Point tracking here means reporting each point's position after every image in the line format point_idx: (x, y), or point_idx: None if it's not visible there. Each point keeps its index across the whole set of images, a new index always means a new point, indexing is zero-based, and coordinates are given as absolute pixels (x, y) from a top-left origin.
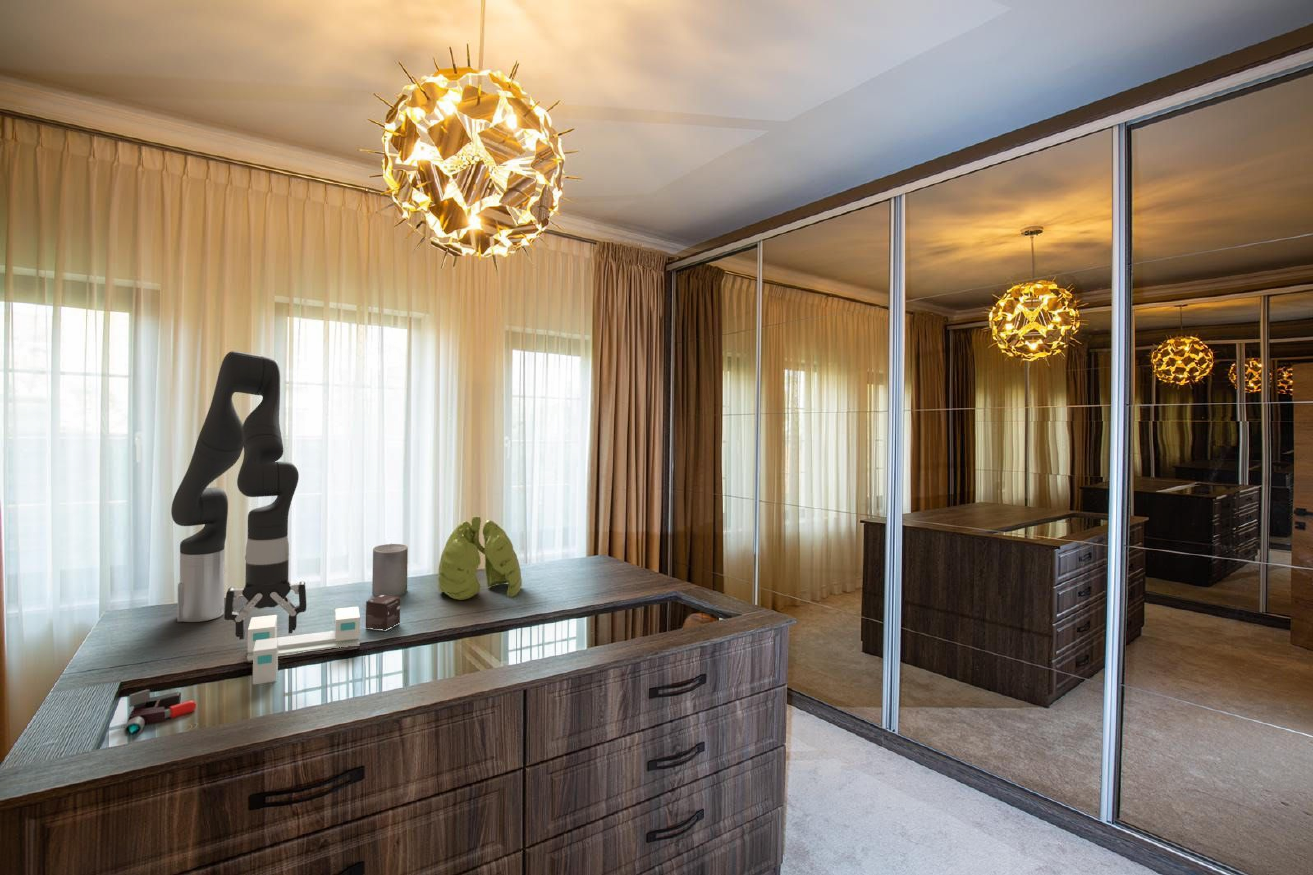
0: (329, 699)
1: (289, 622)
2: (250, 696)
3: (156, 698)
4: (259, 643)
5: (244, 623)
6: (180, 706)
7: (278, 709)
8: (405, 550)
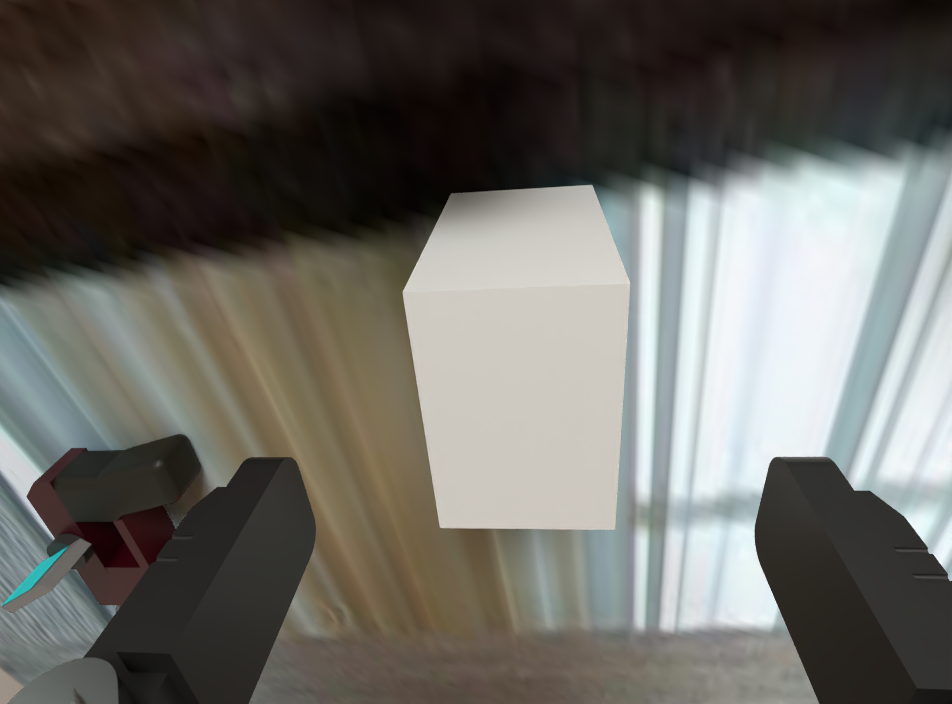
0: None
1: (826, 691)
2: None
3: (96, 505)
4: (456, 392)
5: (220, 606)
6: None
7: (608, 612)
8: None
